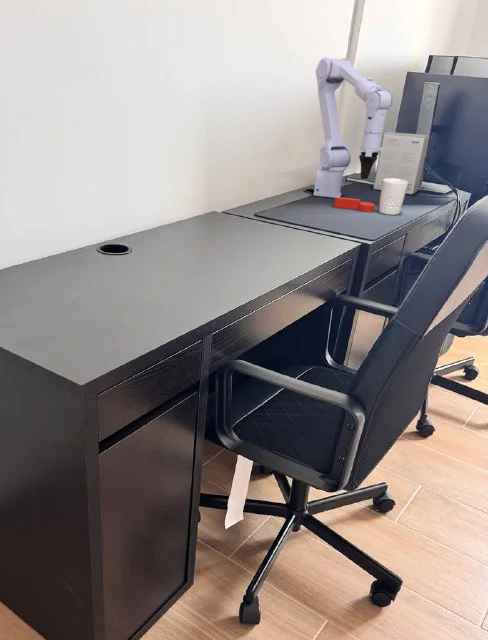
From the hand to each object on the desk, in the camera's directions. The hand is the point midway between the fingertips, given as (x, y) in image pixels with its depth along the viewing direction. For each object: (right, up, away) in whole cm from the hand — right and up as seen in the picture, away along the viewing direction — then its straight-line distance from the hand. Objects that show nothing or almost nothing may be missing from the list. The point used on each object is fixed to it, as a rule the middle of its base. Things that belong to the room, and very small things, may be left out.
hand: (364, 176), depth 194 cm
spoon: (-4, -11, 0) cm, 11 cm away
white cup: (+7, -13, -2) cm, 15 cm away
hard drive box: (+20, +5, +29) cm, 35 cm away
